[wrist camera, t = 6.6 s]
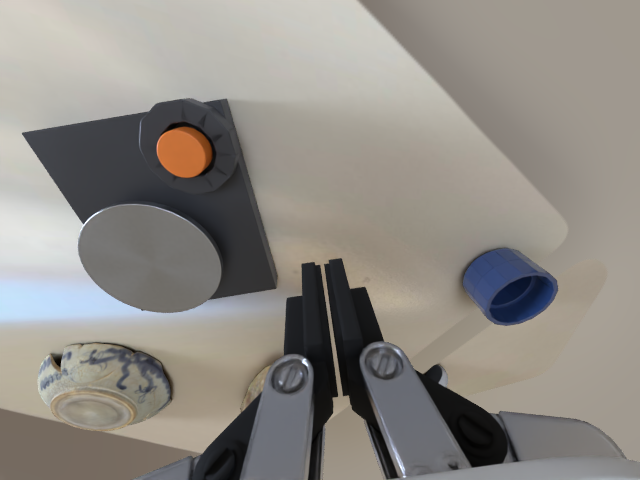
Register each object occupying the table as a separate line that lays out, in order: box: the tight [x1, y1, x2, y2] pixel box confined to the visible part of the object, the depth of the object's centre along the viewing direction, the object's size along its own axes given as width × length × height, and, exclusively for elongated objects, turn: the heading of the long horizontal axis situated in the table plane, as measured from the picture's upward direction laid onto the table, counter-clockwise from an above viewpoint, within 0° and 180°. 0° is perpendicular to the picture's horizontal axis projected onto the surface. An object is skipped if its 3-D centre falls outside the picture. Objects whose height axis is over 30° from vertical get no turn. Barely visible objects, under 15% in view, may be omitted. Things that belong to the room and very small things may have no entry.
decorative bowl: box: [38, 343, 172, 431], centre depth 31 cm, size 15×4×15 cm
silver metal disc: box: [78, 201, 223, 313], centre depth 20 cm, size 10×10×1 cm
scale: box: [22, 98, 277, 311], centre depth 21 cm, size 16×13×4 cm
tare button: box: [157, 127, 212, 178], centre depth 16 cm, size 3×3×2 cm
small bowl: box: [463, 248, 558, 326], centre depth 27 cm, size 7×7×4 cm
